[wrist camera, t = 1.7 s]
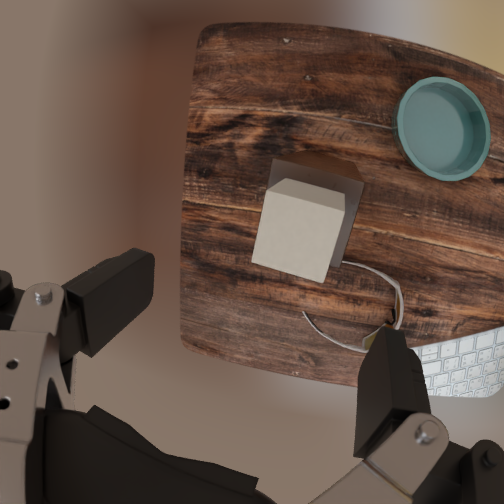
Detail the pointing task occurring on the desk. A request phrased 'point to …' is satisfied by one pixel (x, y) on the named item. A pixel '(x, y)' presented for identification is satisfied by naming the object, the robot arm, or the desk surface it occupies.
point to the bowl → (441, 129)
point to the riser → (323, 186)
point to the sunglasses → (396, 323)
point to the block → (299, 229)
